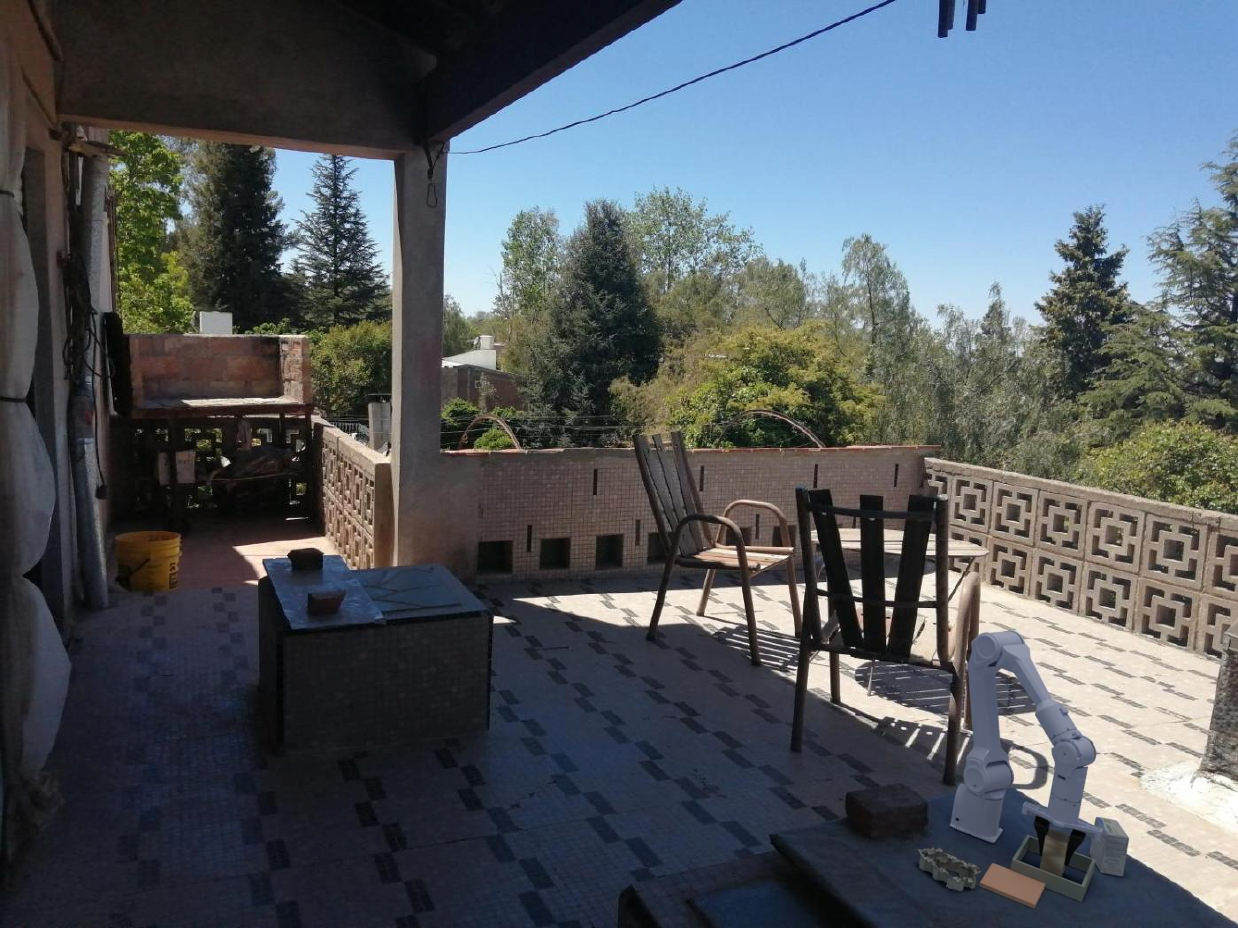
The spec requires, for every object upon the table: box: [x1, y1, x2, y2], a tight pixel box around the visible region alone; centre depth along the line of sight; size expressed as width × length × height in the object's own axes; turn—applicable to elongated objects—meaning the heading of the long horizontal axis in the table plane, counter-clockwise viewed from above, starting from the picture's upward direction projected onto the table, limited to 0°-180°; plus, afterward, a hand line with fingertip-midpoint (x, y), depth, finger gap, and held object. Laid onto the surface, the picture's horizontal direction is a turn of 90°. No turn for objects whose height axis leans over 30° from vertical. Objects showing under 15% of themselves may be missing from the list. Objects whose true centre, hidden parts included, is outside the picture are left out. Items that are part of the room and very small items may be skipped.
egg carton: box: [917, 847, 982, 892], centre depth 180 cm, size 11×8×4 cm
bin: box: [1009, 834, 1096, 903], centre depth 186 cm, size 13×14×3 cm
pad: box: [979, 863, 1046, 909], centre depth 179 cm, size 10×10×1 cm
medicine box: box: [1088, 816, 1130, 878], centre depth 192 cm, size 8×4×9 cm, turn 168°
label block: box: [1039, 827, 1070, 877], centre depth 186 cm, size 4×5×7 cm
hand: (1054, 859), depth 186 cm, fingers closed on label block, 4 cm apart
